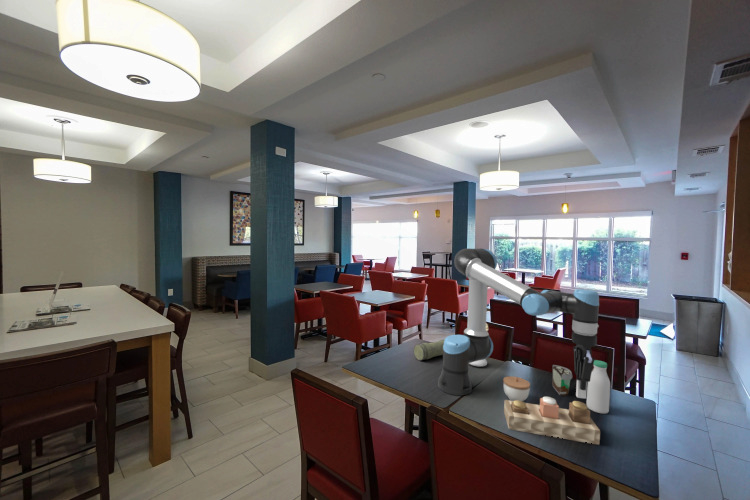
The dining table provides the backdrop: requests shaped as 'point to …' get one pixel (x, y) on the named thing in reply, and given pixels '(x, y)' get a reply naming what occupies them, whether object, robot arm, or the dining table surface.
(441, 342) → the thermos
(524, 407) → the left button
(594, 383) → the milk bottle
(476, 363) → the flower in vase
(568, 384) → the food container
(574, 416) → the right button
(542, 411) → the middle button
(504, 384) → the lidded jar
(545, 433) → the button mount
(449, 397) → the dining table surface
